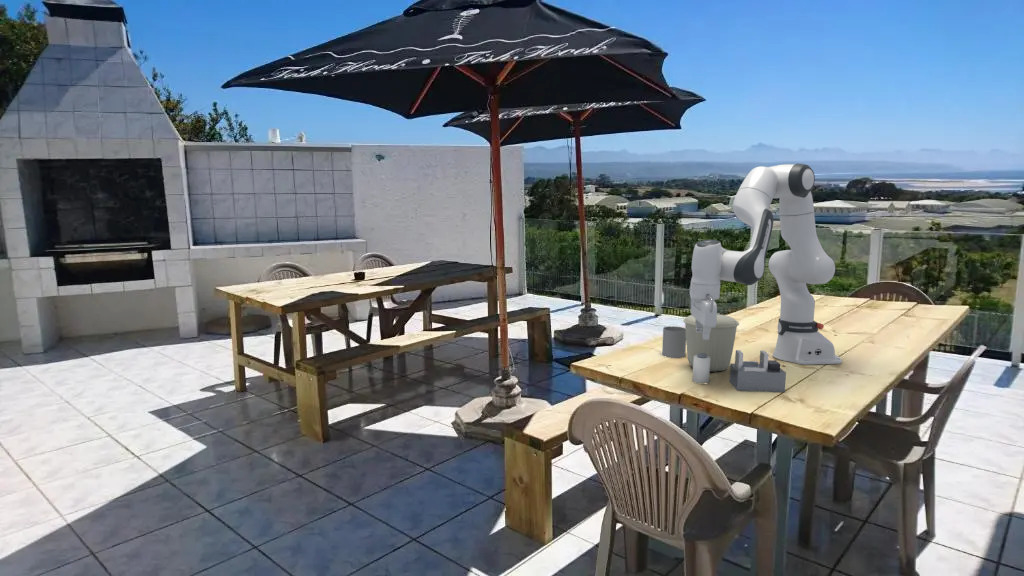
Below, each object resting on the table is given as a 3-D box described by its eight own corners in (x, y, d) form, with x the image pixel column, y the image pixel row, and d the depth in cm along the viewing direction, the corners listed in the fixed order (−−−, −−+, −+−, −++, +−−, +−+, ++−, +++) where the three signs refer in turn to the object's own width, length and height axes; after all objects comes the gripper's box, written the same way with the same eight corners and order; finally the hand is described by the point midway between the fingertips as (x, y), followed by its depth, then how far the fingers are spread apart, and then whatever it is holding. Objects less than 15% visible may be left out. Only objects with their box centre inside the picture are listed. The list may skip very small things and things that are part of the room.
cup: (686, 358, 219) (687, 331, 218) (662, 357, 221) (663, 330, 219) (684, 352, 228) (685, 326, 226) (661, 351, 229) (662, 325, 228)
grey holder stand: (774, 382, 191) (777, 349, 189) (784, 392, 182) (787, 356, 180) (729, 381, 192) (731, 348, 190) (737, 390, 183) (739, 355, 182)
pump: (706, 379, 195) (708, 352, 193) (710, 384, 190) (712, 356, 188) (691, 378, 195) (692, 351, 194) (694, 383, 190) (695, 355, 189)
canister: (746, 368, 207) (750, 308, 204) (718, 379, 195) (722, 315, 192) (699, 358, 220) (702, 301, 217) (670, 367, 208) (673, 307, 205)
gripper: (723, 298, 178) (720, 343, 180) (707, 287, 198) (705, 329, 200) (701, 297, 178) (698, 343, 180) (688, 287, 198) (685, 328, 200)
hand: (702, 335), depth 190 cm, fingers open, 8 cm apart
